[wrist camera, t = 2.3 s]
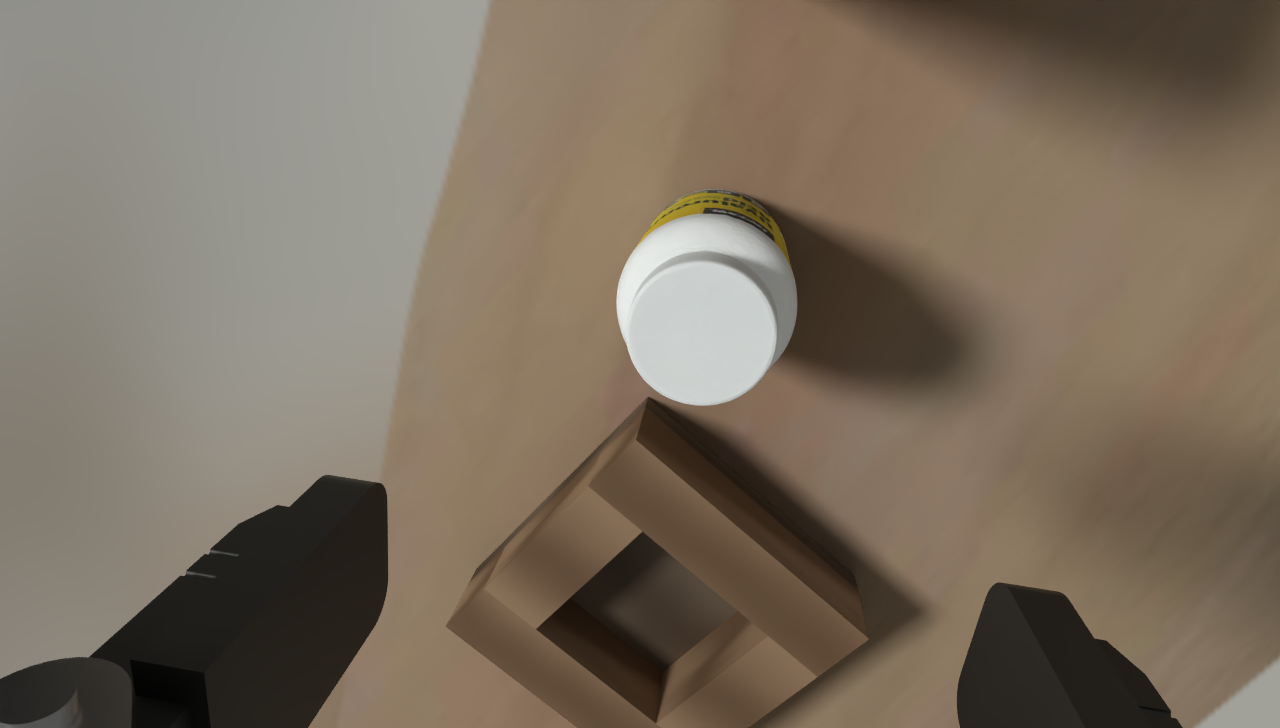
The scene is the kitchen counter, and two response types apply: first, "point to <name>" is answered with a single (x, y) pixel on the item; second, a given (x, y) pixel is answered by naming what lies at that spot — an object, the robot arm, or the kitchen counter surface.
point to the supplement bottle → (708, 298)
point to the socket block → (660, 592)
